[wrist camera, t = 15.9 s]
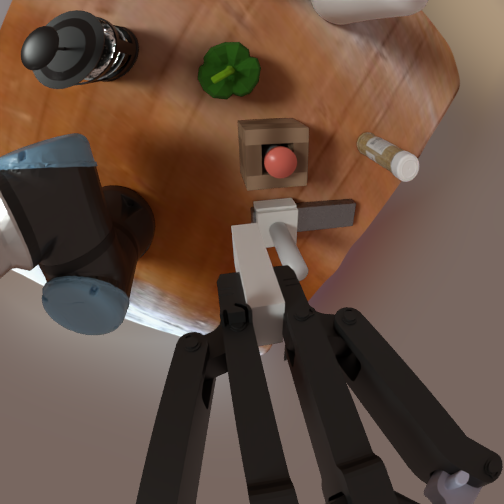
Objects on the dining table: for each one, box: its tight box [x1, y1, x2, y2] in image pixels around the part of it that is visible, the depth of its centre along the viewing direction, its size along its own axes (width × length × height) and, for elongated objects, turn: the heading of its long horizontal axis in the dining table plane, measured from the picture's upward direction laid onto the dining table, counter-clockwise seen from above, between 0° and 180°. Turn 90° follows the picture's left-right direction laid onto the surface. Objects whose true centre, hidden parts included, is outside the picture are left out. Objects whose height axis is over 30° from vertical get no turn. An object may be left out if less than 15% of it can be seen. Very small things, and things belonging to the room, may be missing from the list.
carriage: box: [253, 198, 308, 281], centre depth 48 cm, size 7×8×16 cm
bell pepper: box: [198, 42, 261, 99], centre depth 34 cm, size 8×8×10 cm
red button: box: [261, 144, 297, 178], centre depth 42 cm, size 4×4×8 cm
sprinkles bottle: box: [357, 132, 419, 182], centre depth 43 cm, size 5×5×13 cm
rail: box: [251, 199, 356, 232], centre depth 55 cm, size 20×5×2 cm, turn 92°
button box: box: [238, 118, 309, 191], centre depth 43 cm, size 9×9×8 cm
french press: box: [21, 10, 139, 89], centre depth 23 cm, size 12×9×23 cm
